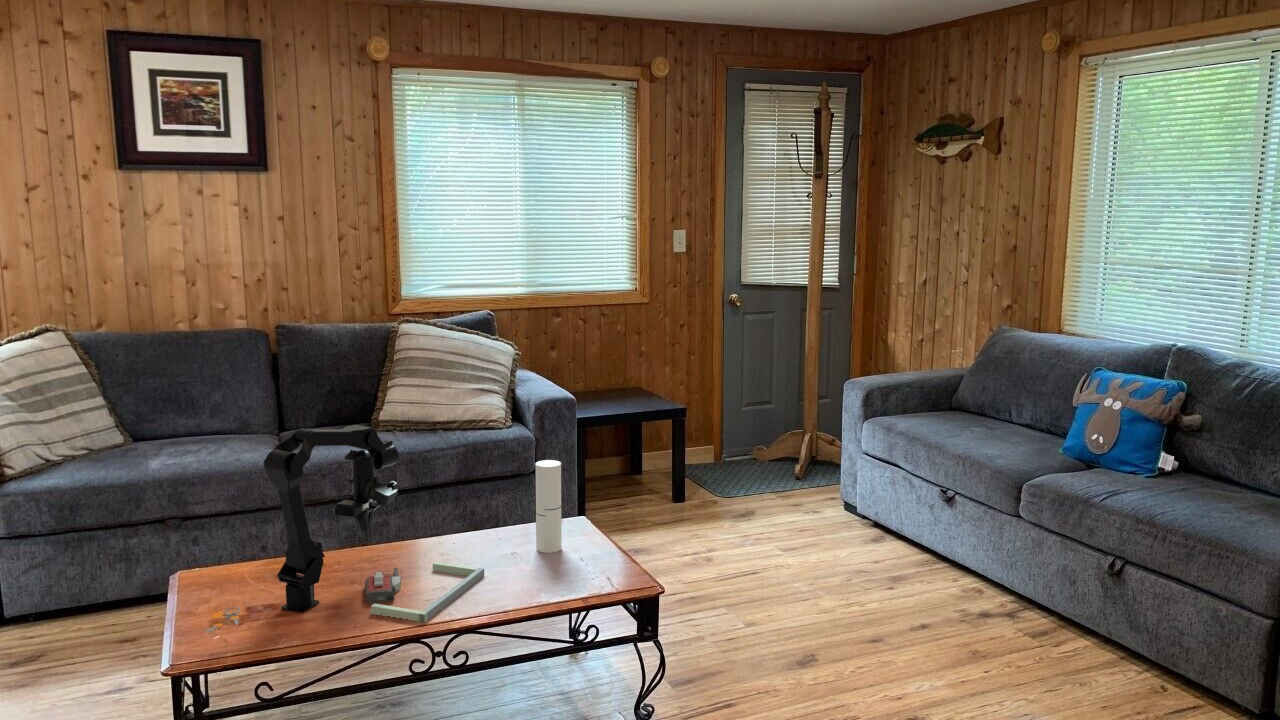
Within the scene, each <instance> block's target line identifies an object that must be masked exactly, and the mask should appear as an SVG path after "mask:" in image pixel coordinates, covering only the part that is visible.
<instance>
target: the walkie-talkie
mask: <svg viewBox="0 0 1280 720" xmlns="http://www.w3.org/2000/svg"><path fill="white" fill-rule="evenodd" d="M401 586H402V577H401V576H400V575H399V568H398V567H397V566H396V567H394V568H393V575H391V574H390V573H389V574H384V571H379V572H374V574H373V575H369V576H367V577H366V578H365V581H364V587H365V603H366V604H374V603H375V604H379V603H386V602H387V601H389V602H391V600H392V601H395V593H396V591H397V592H398V591H400V590H401V588H402V587H401ZM394 592H395V593H394ZM378 602H379V603H378ZM387 603H388V602H387Z"/></svg>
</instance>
